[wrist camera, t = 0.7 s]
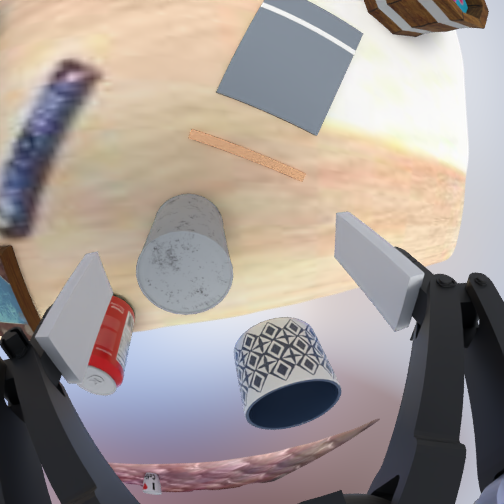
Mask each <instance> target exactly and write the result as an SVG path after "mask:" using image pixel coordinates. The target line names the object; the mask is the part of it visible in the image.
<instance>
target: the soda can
mask: <svg viewBox="0 0 504 504" xmlns="http://www.w3.org/2000/svg"><path fill="white" fill-rule="evenodd" d="M134 322H135V315H134V312H133V310H132V308H131V307H130V306H129V304H128V303H126V302H125V301H124V300H122V299H120V298H118V297H116V296H112V298H111V300H110V303H109V306H108V308H107V311H106V313H105V316H104V319H103V321H102V324H101V327H100V330H99V332H98V335H97V338H96V341H95V344H94V347H93V350H92V353H91V356H90V359H89V363H88V366H87V369H86V373H85V376H84V379H83V383H82V384H77V385H78V386H79V387H81V388H82V389H84V390H86V391H88V392H90V393H93V394H96V395H103V396H104V395H111V394H113V393H114V392H115V391H116V388H117V387H119V386H120V385H121V383H122V381H123V377H124V371H125V366H126V360H127V355H128V350H129V345H130V340H131V336H132V331H133V327H134Z"/></svg>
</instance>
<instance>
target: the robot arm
mask: <svg viewBox="0 0 504 504" xmlns="http://www.w3.org/2000/svg"><path fill="white" fill-rule="evenodd" d="M334 257H335V258H336V259H337V261H338V262H339V263H340V264H341V265H342V267H343V268H344V269H345V270H346V271H347V273H348V274H349V275H350V276H351V277H352V279H353V280H354V281H355V282H356V283H357V285H358V286H359V287H360V288H361V290H362V291H363V292H364V293H365V295H366V296H367V297H368V298H369V300H370V301H371V302H372V303H373V305H374V306H375V307H376V308H377V310H378V311H379V312H380V313H381V315H382V316H383V317H384V319H385V320H386V321H387V323H388V324H389V325H390V326H391V328H392V329H393V330H394V332H396V331H399V330H401V329H404V328H407V327H408V326H409V324H410V320H411V317H412V316H413V318H414V319H415V320H416V321H417V322H416V325H415V328H414V331H413V333H412V336H411V339H410V340H413V344H412V351H411V357H410V363H409V368H408V374H407V379H406V384H405V389H404V393H403V398H402V402H401V406H400V410H399V414H398V417H397V421H396V424H395V428H394V431H393V434H392V438H391V441H390V444H389V447H388V450H387V453H386V456H385V458H384V462H383V464H382V466H381V469H380V470H379V472H378V473H377V475H376V477H375V478H374V480H373V482H372V484H371V486H370V488H369V490H368V493H367V494H343V493H342V490H340V491H337V492H334V493H331V494H328V495H324V496H321V497H318V498H314V499H310V500H307V501H303V502H301V503H299V504H455V501H456V498H457V494H458V490H459V487H460V482H461V478H462V474H463V469H464V464H465V458H466V447H465V445H464V444H461V443H460V441H459V435H460V427H461V418H462V408H463V394H464V374H465V378H466V383H467V388H468V393H469V399H470V404H471V410H472V417H473V425H474V433H475V443H476V458H477V473H478V481H479V487H480V491H481V495H480V497H479V499H477V500H476V501H475V503H474V504H504V302H503V300H502V298H501V296H500V295H499V293H498V291H497V289H496V288H495V286H494V284H493V283H492V281H491V280H490V279H489V278H488V277H487V276H486V275H484V274H482V273H472V274H470V275H469V278H468V281H467V283H457V282H456V281H455V280H454V279H453V278H451V277H449V276H447V275H444V274H435V275H433V274H432V273H431V272H430V271H429V270H428V269H426V268H425V267H424V266H423V265H422V264H421V263H420V262H417V260H416V259H415V258H414V257H412V256H411V255H410V254H409V253H408V252H406V251H405V250H403V249H401V248H398V247H393V246H392V245H391V244H390V243H388V242H387V241H386V240H385V239H384V238H382V237H381V236H380V235H379V234H377V233H376V232H375V231H373V230H372V229H371V228H370V227H368V226H367V225H366V224H364V223H363V222H362V221H360V220H359V219H358V218H356V217H355V216H354V215H352V214H351V213H350V212H340V213H336V234H335V254H334ZM112 295H113V291H112V288H111V286H110V283H109V281H108V278H107V276H106V273H105V271H104V268H103V265H102V263H101V260H100V257H99V254H98V251H97V252H92V253H87V254H86V255H85V256H84V258H83V259H82V260H81V262H80V263H79V265H78V266H77V268H76V269H75V271H74V272H73V274H72V275H71V277H70V278H69V280H68V281H67V283H66V284H65V286H64V287H63V289H62V291H61V292H60V294H59V295H58V297H57V299H56V300H55V302H54V303H53V304H52V305H51V306H50V307H49V308H48V309H47V310H46V312H45V314H44V315H43V317H42V318H43V319H41V321H40V322H39V325H38V326H37V328H36V330H35V331H34V333H33V335H32V337H31V339H30V341H29V340H28V338H27V337H26V335H25V333H24V332H23V330H22V329H21V327H18V326H17V327H13V328H11V329H9V330H8V331H7V332H5V334H4V335H3V336H2V338H1V340H0V345H1V347H2V349H3V350H4V351H5V353H6V354H7V356H8V357H9V358H10V359H7V360H2V359H1V357H0V504H52V503H51V500H50V496H49V493H48V489H47V486H46V482H45V478H44V474H43V470H42V467H43V469H44V471H45V473H46V475H47V477H48V479H49V481H50V483H51V485H52V487H53V489H54V491H55V493H56V495H57V497H58V498H59V500H60V502H61V504H140V503H139V502H138V501H137V500H136V498H135V497H134V496H133V495H132V494H131V493H130V491H129V490H128V489H127V488H126V486H125V485H124V484H123V483H122V481H121V480H120V479H119V477H118V476H117V475H116V474H115V472H114V471H113V469H112V468H111V467H110V465H109V464H108V462H107V461H106V460H105V458H104V457H103V455H102V454H101V452H100V451H99V449H98V448H97V446H96V445H95V443H94V442H93V440H92V438H91V437H90V435H89V433H88V432H87V430H86V428H85V427H84V425H83V423H82V422H81V420H80V418H79V416H78V414H77V412H76V410H75V408H74V407H73V405H72V403H71V401H70V399H69V397H68V395H67V393H66V390H65V389H64V387H63V385H62V384H61V383H60V378H61V375H62V376H63V377H64V378H65V379H66V381H67V382H68V383H69V384H71V383H72V384H82V383H83V379H84V376H85V373H86V369H87V366H88V363H89V359H90V356H91V353H92V350H93V347H94V344H95V341H96V338H97V335H98V332H99V330H100V327H101V324H102V321H103V319H104V316H105V313H106V311H107V308H108V306H109V303H110V300H111V298H112ZM478 320H479V325H478ZM4 398H5V399H6V400H7V401H8V406H7V405H6V402H5V400H4ZM41 464H42V466H41Z"/></svg>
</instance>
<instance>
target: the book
mask: <svg viewBox="0 0 504 504" xmlns="http://www.w3.org/2000/svg"><path fill="white" fill-rule="evenodd" d="M40 321H41V320H40V318H39V315H38V313H37V311H36V309H35V307H34V304H33V302H32V300H31V297H30V295H29V293H28V290H27V288H26V285H25V283H24V280H23V277H22V275H21V272H20V269H19V266H18V263H17V260H16V257H15V254H14V251H13V248H12V246H7V247H0V336H3V335H4V334H5V332H7V331H8V330H9V329H11V328H13V327H17V326H18V327H21V329H22V330H23V332H24V333H25V335H26V337H27V338H28V340H30V339H31V337H32V335H33V333H34V331H35V330H36V328H37V326H38V325H39V322H40Z"/></svg>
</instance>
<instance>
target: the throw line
mask: <svg viewBox="0 0 504 504" xmlns="http://www.w3.org/2000/svg"><path fill="white" fill-rule="evenodd" d="M188 138H190V139H193V140H196V141H199V142H202V143H205V144H208V145H210V146H213V147H216V148H219V149H222V150H224V151H227V152H230V153H233V154H235V155H238V156H241V157H243V158H246V159H248V160H251V161H253V162H256V163H259V164H261V165H264V166H266V167H268V168H271V169H273V170H276V171H278V172H281V173H283V174H285V175H288V176H290V177H292V178H295V179H297V180H299V181H301V182H302V181H303V179H304V177H305V175H306V174H305V173H303V172H301V171H298V170H296V169H294V168H292V167H289V166H287V165H285V164H283V163H280V162H278V161H276V160H273V159H271V158H268V157H266V156H264V155H261V154H259V153H256V152H254V151H251V150H249V149H246V148H244V147H241V146H238V145H236V144H233V143H230V142H228V141H225V140H222V139H220V138H217V137H214V136H211V135H208V134H205V133H202V132H200V131H197V130H194V129H192V130H191V132H190V135H189V137H188Z"/></svg>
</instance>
